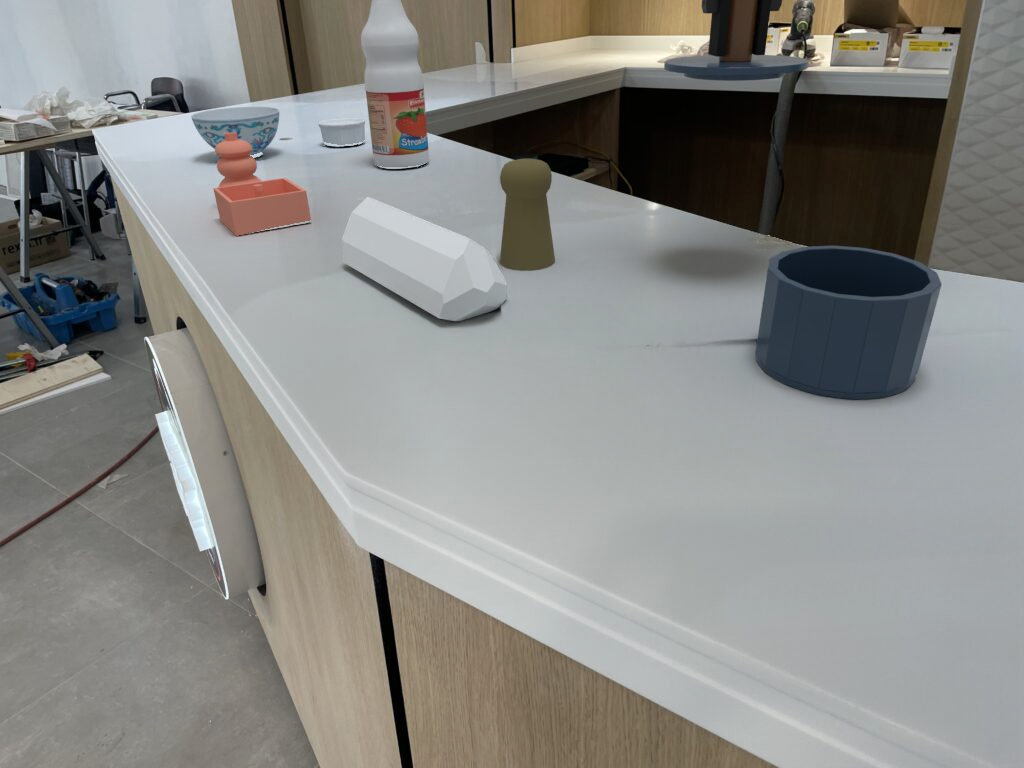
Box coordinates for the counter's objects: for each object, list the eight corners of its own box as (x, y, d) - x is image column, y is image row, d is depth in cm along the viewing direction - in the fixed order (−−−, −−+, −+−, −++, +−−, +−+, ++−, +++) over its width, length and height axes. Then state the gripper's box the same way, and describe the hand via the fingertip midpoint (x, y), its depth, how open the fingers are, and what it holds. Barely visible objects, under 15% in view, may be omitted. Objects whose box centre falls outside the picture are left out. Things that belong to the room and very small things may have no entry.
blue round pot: (869, 329, 62) (889, 242, 58) (946, 395, 52) (976, 296, 48) (736, 335, 61) (747, 248, 58) (787, 403, 51) (804, 303, 48)
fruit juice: (389, 158, 130) (370, -22, 117) (438, 160, 127) (424, -24, 114) (364, 169, 122) (341, -22, 109) (416, 171, 119) (398, -25, 106)
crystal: (537, 266, 66) (406, 212, 83) (478, 242, 61) (352, 190, 78) (506, 342, 67) (383, 274, 84) (445, 324, 62) (329, 255, 79)
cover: (777, 66, 71) (792, -43, 67) (830, 80, 60) (851, -49, 56) (651, 70, 71) (657, -39, 67) (681, 85, 60) (691, -44, 56)
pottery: (311, 223, 94) (298, 144, 90) (236, 236, 90) (219, 154, 86) (272, 195, 108) (259, 126, 103) (206, 205, 104) (189, 133, 99)
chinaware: (220, 169, 125) (210, 122, 121) (188, 157, 135) (178, 113, 131) (300, 156, 134) (293, 111, 130) (264, 145, 144) (257, 104, 140)
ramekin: (317, 143, 145) (313, 120, 143) (361, 138, 148) (358, 116, 146) (327, 150, 138) (323, 126, 136) (372, 145, 141) (370, 122, 139)
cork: (517, 253, 81) (515, 152, 76) (565, 261, 79) (566, 157, 73) (488, 270, 77) (483, 163, 72) (538, 279, 74) (537, 169, 69)
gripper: (678, -310, 50) (656, 61, 62) (905, -316, 51) (842, 54, 62) (655, -275, 57) (639, 54, 68) (856, -281, 57) (807, 48, 68)
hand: (735, 53), depth 65 cm, fingers closed on cover, 3 cm apart
